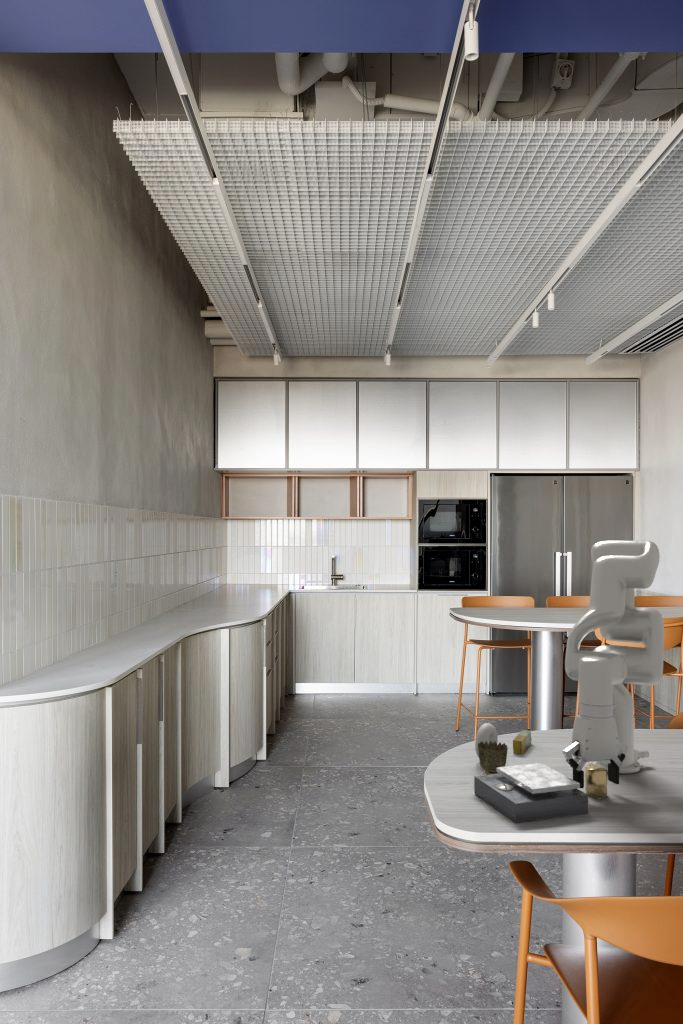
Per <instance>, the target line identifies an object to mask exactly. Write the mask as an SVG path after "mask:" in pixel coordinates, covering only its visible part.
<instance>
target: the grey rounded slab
mask: <svg viewBox="0 0 683 1024" xmlns="http://www.w3.org/2000/svg"><path fill="white" fill-rule="evenodd" d="M498 737H499V736H498V732H497V729H496V727H495V726H494V725H493V724H492V723H490V722H484V723H483V724H482V725H480V726H479V729H478V731H477V733H476V737H475V742H474V743H475V753H476V756H477V757H478V759H479V753H478V743H479V744H480V742H481V741H482V742H483V743H484V744H485V742H486V741H487V743H488V745H489V742H490V741H492V742H493V743H494V741H495V742H496V743H497V744H498Z"/></svg>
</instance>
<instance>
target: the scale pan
mask: <svg viewBox="0 0 683 1024" xmlns="http://www.w3.org/2000/svg"><path fill="white" fill-rule="evenodd" d="M496 771H497V772H498V773H499V774H501V775H502V776H504V777H506V778H507V779H509V780H511V781H512V782H514V783H515V784H517V785H519V786H520V787H522V788H524V789H525V790H527V791H528V792H530V793H532V794H536V793H544V792H552V791H561V790H569V789H581V788H580V783H578V782H576V781H574V780H573V778H570V777H568V776H567V775H564V774H563V773H561V772H559V771H557V770H555V769H553V768H552V767H549V766H548V765H546V764H544V763H542V762H536V763H526V764H519V765H510V766H509V765H505V767H497V768H496Z"/></svg>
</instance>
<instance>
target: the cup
mask: <svg viewBox="0 0 683 1024" xmlns="http://www.w3.org/2000/svg"><path fill="white" fill-rule="evenodd" d="M508 748H509V746H508V745H507V744H506V743H505V742H504V743H501V741H499V743H498V742H497V743H496V742H495V741H494V743H493V742H492V741H490V742H489V745H488V743H487V741H486V742H485V744H484V743H483V742H482V741H481V742H480V744H479V743H478V753H479V758H478V760H479V763H480V767H481V768H482V769H483V770H484V771H485V772H484V775H490V774H499V773H498V772H497V771H496V768H497V767H506V766H507V765H506V764H507V759H508V758H507V757H508Z"/></svg>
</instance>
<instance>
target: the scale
mask: <svg viewBox="0 0 683 1024" xmlns="http://www.w3.org/2000/svg"><path fill="white" fill-rule="evenodd" d="M473 778H474V779H473V781H474V783H473V785H474V787H473V788H474V789H473V791H474V793H475V795H476V796H477V797H478V798H480V799H481V798H482V799H481V800H483V801H484V802H485V803H487V804H488V805H490V806H491V807H493V808H494V809H496V810H497V811H498V812H500V813H501V814H502V815H504V816H505V817H507V819H510V820H511V821H512V822H514V823H515V824H519V823H526V822H534V821H540V820H541V821H543V820H548V819H554V818H555V819H557V818H564V817H571V816H578V815H586V814H589V796H588V794H586V792H584V791H582V790H581V789H580V788H578V789H569V790H561V791H552V792H544V793H536V794H532V793H530V792H528V791H527V790H525V789H524V788H522V787H520V786H519V785H517V784H515V783H514V782H512V781H511V780H509V779H507V778H506V777H504V776H502V775H501V774H490V775H486V774H482V775H474V777H473Z"/></svg>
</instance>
